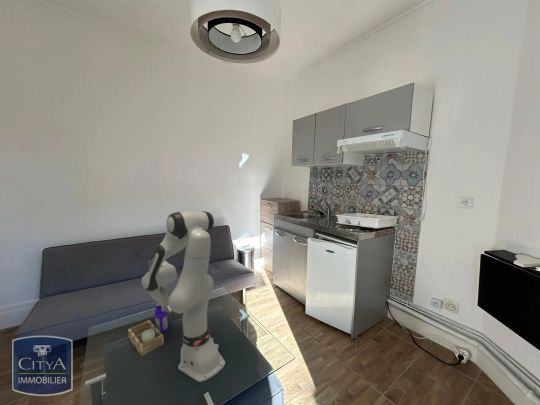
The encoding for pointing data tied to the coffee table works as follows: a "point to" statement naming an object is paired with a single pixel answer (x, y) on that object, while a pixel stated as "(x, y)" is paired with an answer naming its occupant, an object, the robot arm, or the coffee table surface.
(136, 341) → the rack
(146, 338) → the pale green egg
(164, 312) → the bottle
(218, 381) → the coffee table surface
